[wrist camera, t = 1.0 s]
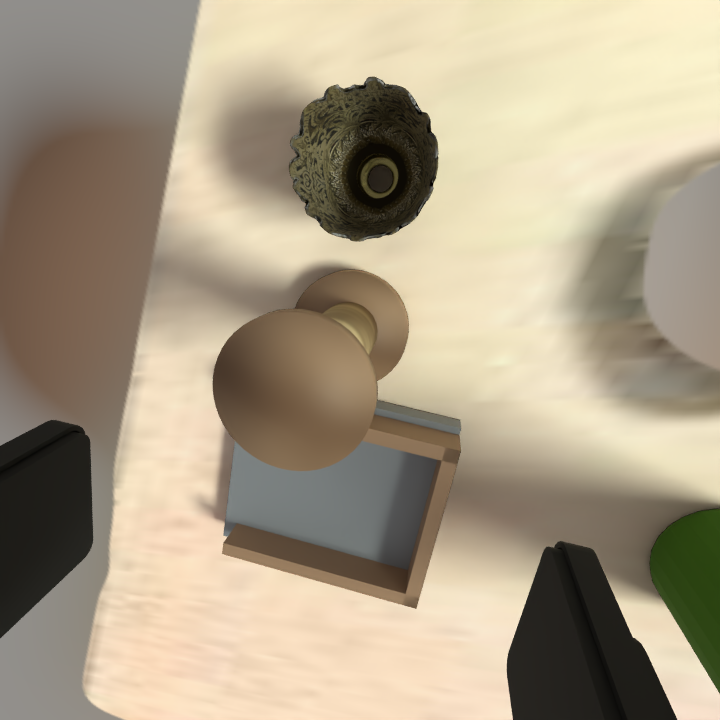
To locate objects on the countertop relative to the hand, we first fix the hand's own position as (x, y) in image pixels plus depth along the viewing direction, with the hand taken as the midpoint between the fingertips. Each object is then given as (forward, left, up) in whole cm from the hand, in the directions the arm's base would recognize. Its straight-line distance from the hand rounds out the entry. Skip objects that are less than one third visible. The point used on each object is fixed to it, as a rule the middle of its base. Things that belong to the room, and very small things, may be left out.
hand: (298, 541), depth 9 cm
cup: (-9, -3, -25) cm, 26 cm away
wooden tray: (+13, -2, -25) cm, 28 cm away
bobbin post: (+1, -3, -25) cm, 25 cm away
